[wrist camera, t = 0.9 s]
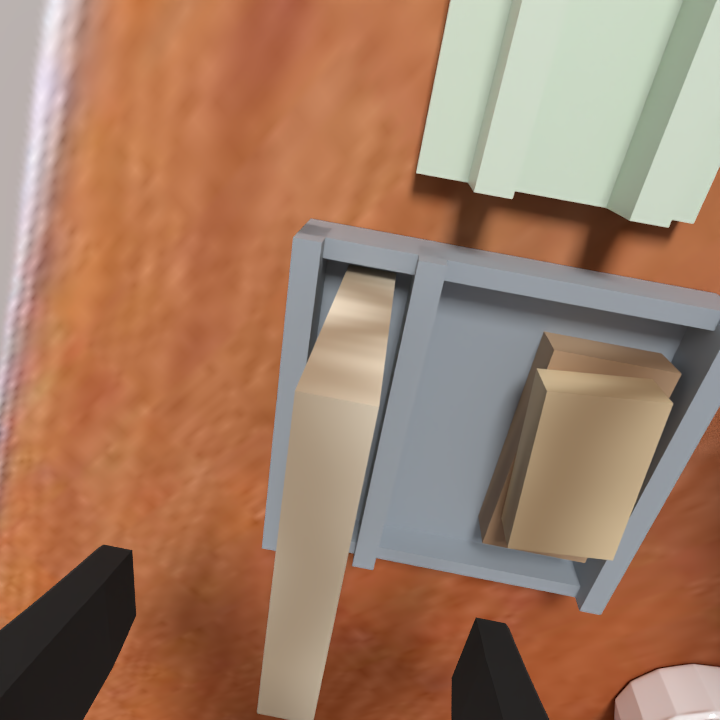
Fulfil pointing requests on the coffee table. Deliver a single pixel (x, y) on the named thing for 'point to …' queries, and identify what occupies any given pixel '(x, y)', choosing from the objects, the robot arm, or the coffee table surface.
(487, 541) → the offcut lower
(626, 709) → the white cup
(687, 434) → the tray
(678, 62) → the stand
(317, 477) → the birch sheet
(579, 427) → the offcut upper
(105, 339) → the coffee table surface
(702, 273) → the coffee table surface
